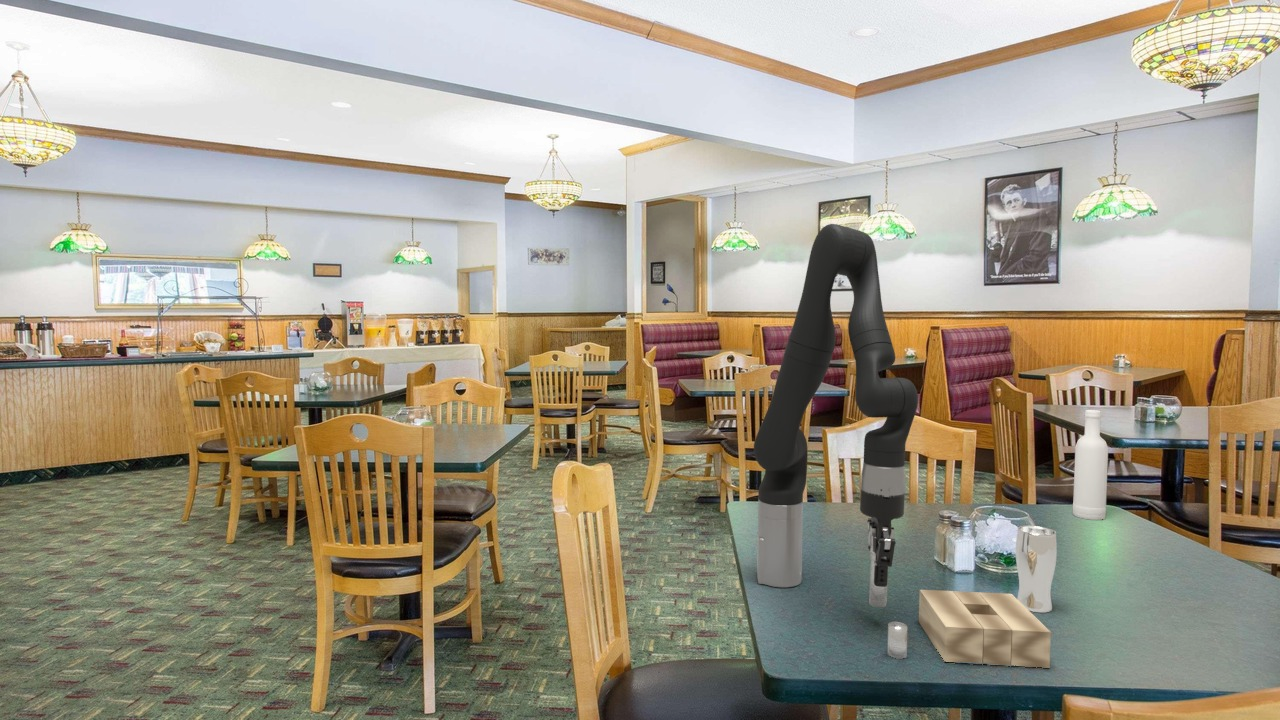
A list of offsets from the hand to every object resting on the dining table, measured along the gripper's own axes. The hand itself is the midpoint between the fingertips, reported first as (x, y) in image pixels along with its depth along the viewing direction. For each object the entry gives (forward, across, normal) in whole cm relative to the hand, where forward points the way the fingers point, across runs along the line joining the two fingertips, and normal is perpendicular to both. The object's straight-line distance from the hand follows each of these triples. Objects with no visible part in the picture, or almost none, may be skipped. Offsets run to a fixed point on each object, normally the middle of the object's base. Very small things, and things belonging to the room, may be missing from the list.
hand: (878, 581), depth 131 cm
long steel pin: (+4, 0, 0) cm, 4 cm away
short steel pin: (+8, +12, +1) cm, 14 cm away
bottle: (+7, -83, +72) cm, 110 cm away
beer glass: (+8, -13, +32) cm, 35 cm away
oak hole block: (+8, +5, +16) cm, 19 cm away
